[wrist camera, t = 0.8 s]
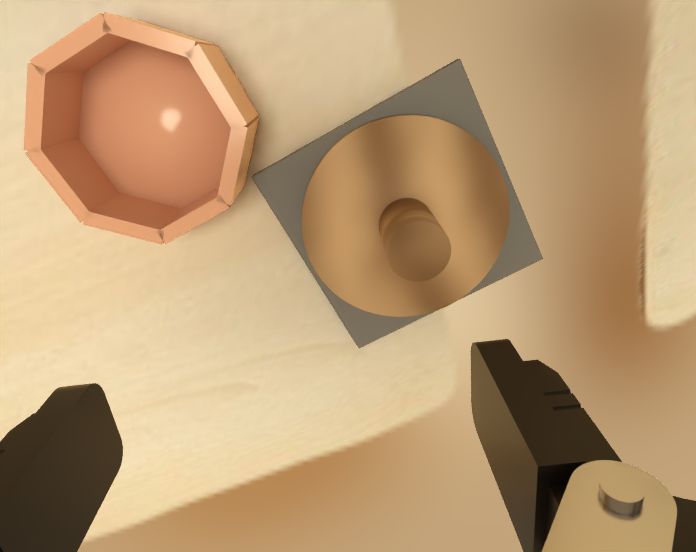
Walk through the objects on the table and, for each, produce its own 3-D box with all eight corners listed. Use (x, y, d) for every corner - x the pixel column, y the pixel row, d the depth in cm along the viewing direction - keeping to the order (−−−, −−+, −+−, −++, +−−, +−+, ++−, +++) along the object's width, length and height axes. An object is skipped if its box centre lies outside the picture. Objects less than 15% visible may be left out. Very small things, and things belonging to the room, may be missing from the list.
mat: (457, 59, 29) (460, 58, 29) (539, 255, 34) (542, 258, 34) (253, 175, 32) (251, 177, 31) (358, 344, 37) (358, 348, 36)
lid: (455, 71, 29) (485, 74, 24) (533, 255, 34) (573, 294, 28) (263, 180, 31) (249, 206, 26) (361, 339, 36) (367, 390, 30)
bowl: (185, -11, 27) (156, -25, 23) (287, 161, 31) (280, 179, 27) (33, 89, 29) (-22, 94, 24) (147, 241, 33) (118, 270, 28)
